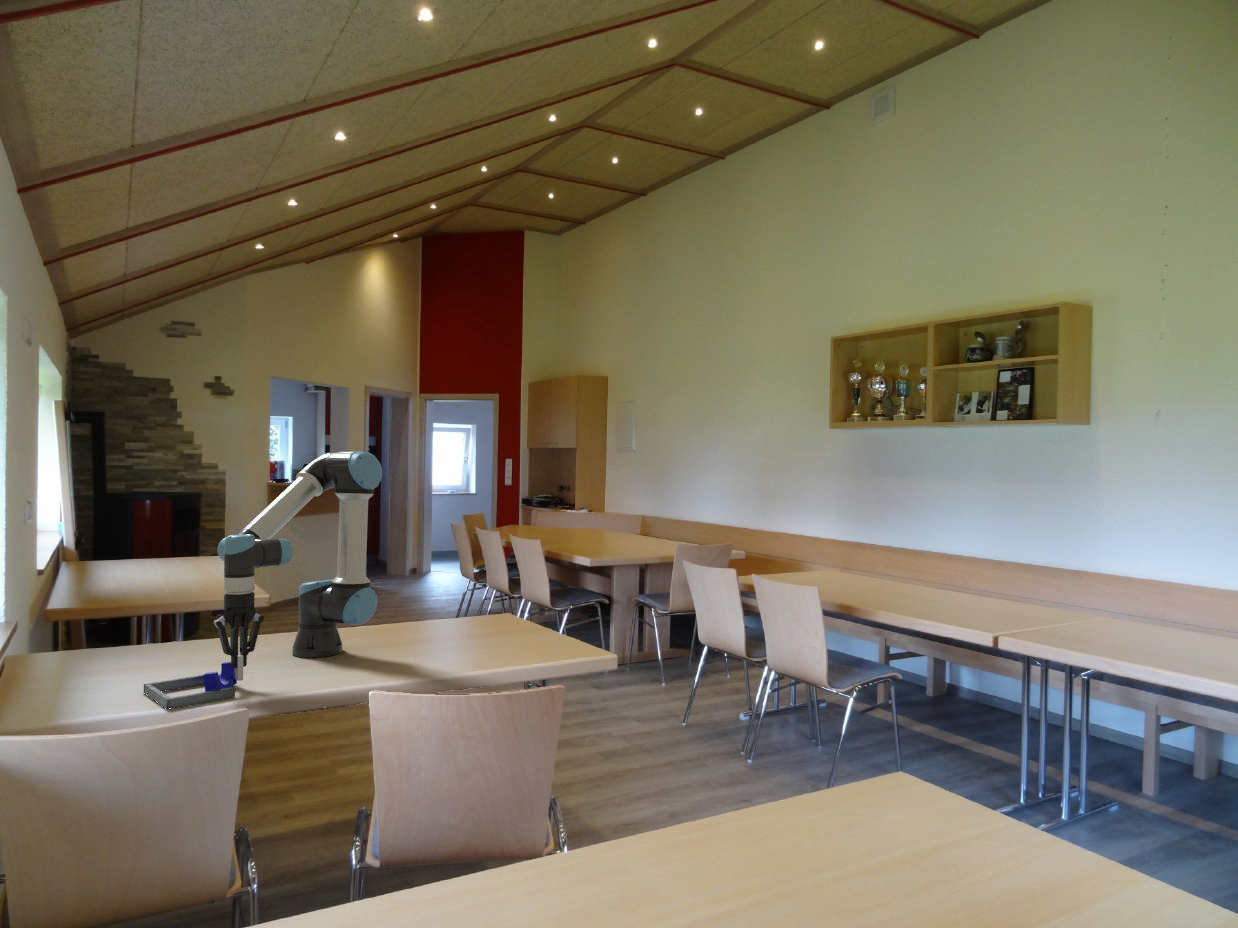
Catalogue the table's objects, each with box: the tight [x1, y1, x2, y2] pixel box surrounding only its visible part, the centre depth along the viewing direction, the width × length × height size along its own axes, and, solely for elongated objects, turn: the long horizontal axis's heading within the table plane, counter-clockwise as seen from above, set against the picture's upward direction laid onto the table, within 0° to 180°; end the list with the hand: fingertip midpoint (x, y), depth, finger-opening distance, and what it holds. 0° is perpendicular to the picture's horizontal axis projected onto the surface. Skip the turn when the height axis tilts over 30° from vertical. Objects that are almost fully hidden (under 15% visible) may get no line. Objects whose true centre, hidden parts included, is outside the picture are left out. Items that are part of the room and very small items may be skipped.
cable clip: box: [203, 661, 238, 692], centre depth 217 cm, size 12×4×6 cm, turn 3°
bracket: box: [143, 674, 236, 710], centre depth 213 cm, size 16×19×2 cm
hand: (238, 679), depth 221 cm, fingers closed
